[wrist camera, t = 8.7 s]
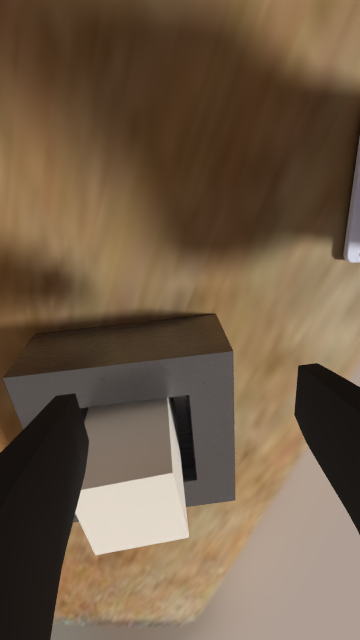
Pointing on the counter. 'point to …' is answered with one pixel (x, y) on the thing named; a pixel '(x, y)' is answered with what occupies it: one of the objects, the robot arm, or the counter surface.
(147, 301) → the counter surface
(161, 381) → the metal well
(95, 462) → the ivory block
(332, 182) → the counter surface
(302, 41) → the counter surface
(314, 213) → the counter surface
